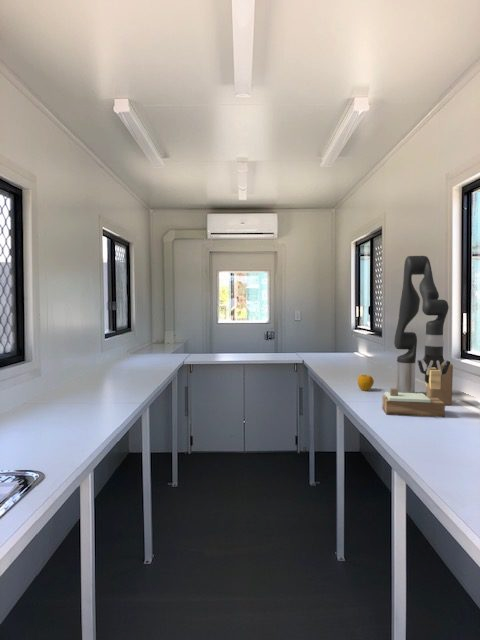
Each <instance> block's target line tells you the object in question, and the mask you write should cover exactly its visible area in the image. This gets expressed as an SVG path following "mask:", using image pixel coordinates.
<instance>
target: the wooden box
mask: <svg viewBox="0 0 480 640" xmlns="http://www.w3.org/2000/svg"><path fill="white" fill-rule="evenodd" d="M428 398H429V399H430V402H405V401H389V400H388V398H387V397H386V396H385V394H384V395H382V399H381V400H382V402H381V403H382V405H381V407H382V410H383V412H384V413H385V415H387V416H403V417H404V416H407V417H428V418H429V417H430V418H445V415H446V414H445V409H446V405H445V403H443V402H442V401H441V400H440V399H438V398H437V397H428Z"/></svg>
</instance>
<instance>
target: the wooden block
mask: <svg viewBox="0 0 480 640" xmlns="http://www.w3.org/2000/svg"><path fill="white" fill-rule="evenodd" d="M440 367H441V371H442V370H443V367H444V362H443V363H442V364H441V365H440ZM433 368H435V367H433ZM453 369H454V366H453V364H452V363H450V365H449V368H448V370H447V373H446V374H443V375H442V378H441V388H440V389H430V388H429V387H428V386H426V385H425V386H426V387H425V388H426V395H425V396H427V397H437V398H438V399H440V400H441V401H442V402H443V403H445V406H451V405H452V404H453V373H454V372H453V371H454V370H453Z"/></svg>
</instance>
